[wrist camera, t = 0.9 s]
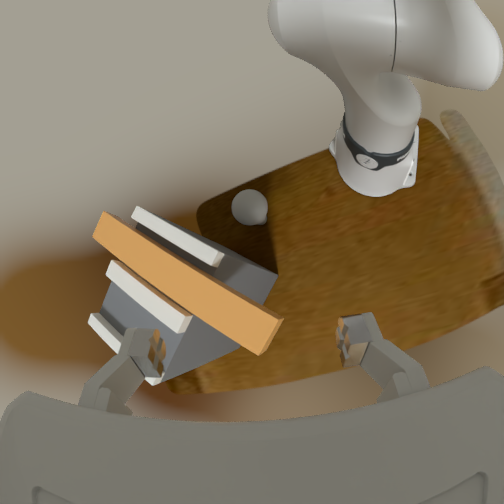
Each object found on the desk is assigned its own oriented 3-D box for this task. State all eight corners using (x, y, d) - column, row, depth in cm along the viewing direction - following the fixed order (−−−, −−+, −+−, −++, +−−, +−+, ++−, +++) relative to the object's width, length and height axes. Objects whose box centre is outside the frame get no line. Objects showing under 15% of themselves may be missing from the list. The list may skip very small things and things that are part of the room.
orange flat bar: (116, 216, 32) (103, 210, 30) (284, 317, 24) (278, 319, 22) (105, 240, 32) (92, 236, 30) (265, 350, 24) (258, 355, 22)
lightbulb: (245, 207, 56) (225, 187, 45) (275, 202, 54) (260, 180, 44) (247, 237, 55) (226, 222, 44) (278, 232, 53) (264, 216, 43)
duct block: (226, 247, 56) (136, 205, 30) (278, 275, 52) (218, 251, 26) (190, 316, 55) (87, 322, 30) (238, 348, 51) (152, 385, 26)
